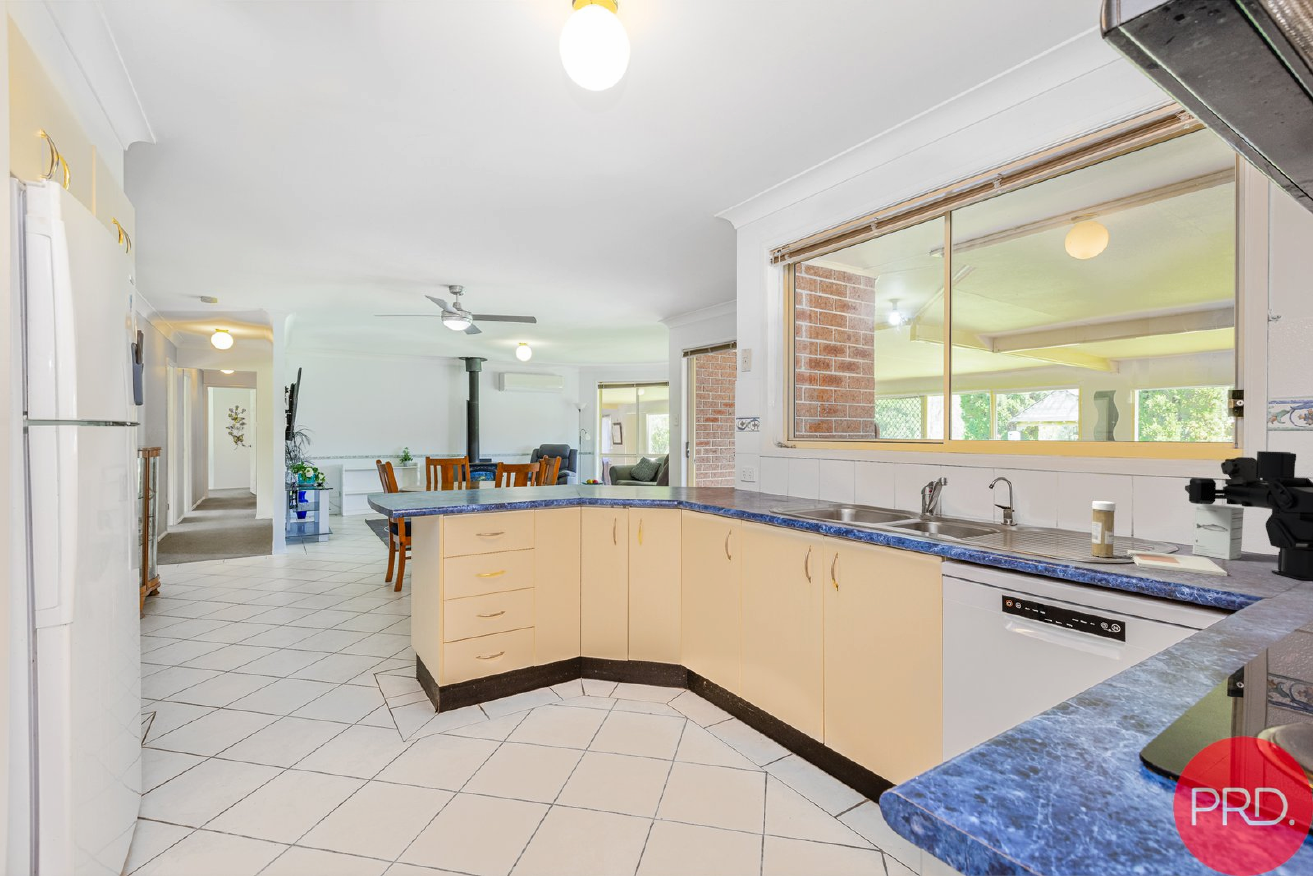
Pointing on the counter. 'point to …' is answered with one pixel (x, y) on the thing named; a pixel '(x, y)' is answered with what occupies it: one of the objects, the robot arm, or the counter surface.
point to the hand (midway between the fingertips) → (1204, 488)
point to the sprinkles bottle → (1103, 528)
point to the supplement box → (1218, 531)
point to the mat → (1176, 562)
